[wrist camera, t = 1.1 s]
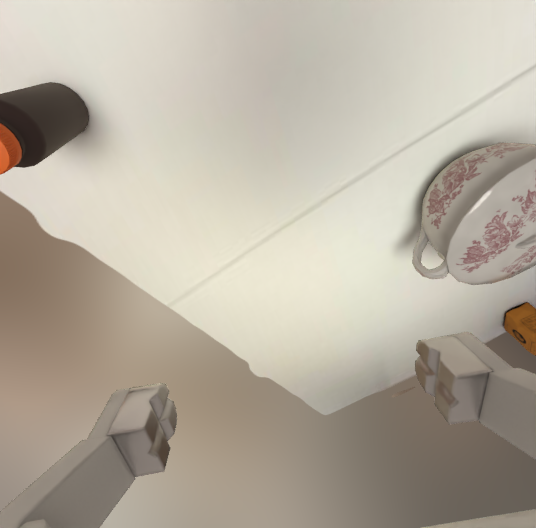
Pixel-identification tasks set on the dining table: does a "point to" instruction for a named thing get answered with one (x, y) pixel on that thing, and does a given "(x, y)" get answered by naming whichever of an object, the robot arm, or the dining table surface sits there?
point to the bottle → (38, 123)
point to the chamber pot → (482, 215)
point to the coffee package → (523, 326)
